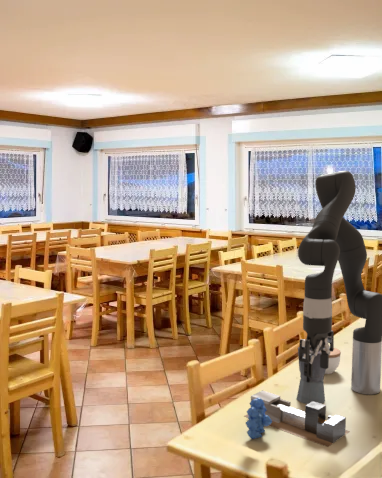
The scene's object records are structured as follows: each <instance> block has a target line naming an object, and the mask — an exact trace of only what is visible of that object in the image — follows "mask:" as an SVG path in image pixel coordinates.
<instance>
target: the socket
mask: <svg viewBox="0 0 382 478" xmlns="http://www.w3.org/2000/svg"><path fill="white" fill-rule="evenodd" d="M346 422H347V417H346V416H342V415H341V414H340V415H339V414H337V413H336V414H335V415H331V414H329V415H327V420H326V421H325V422H324V423H321V422H318V423H317V437H316V438H319V439H322V440H325V441H328V442H330V443H333V444H335V443H336V442H337V441H339V440H340V439H341V438H343V437H345V436H346V435H345V430H347V429H346V428H347V426H346ZM338 439H339V440H338Z"/></svg>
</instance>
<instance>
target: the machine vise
mask: <svg viewBox="0 0 382 478" xmlns="http://www.w3.org/2000/svg"><path fill="white" fill-rule="evenodd" d="M256 398H261V399H262V400H263V402H264V406H265V408H266V412H265V415H268V416H269V417H270V419H271V420H272V423H271V424H270V425H269V426H270V427H272V428H274V429H277V430H280V431H283V432H285V433H288V434H291V435H294V436H296V437H299V438H302V439H305V440H308V441H309V442H313V443H316V444H319V445H321V446H324V447H327V448H329V447H330V446H331V445H333V444H334V443H330V442H328V441H325V440H322V439H319V438H316V437H317V434H314V433H311V432H308V431H305V430H304V429H301V428H299V427H296V426H293V425H290V424H287V423H284V422H282V421H281V407H279V406H276V405H277V404H279V403H280V404H283V405H286V406H289V407H291V404H292V403H291V401H289V400H286V399H282V398H281V395H278V394H275V393H272V392H269V391H266V390H264V389H263V390H260V391H258V392H256V393H254V394H251V395H250V402H251V401H252V400H253V399H256ZM243 417H244V418H246V419H248V417H249V415H248V414H245V415H244V416H243ZM348 433H350V430H347V429H346V430H345V435H344V436H346V435H347V434H348ZM339 440H340V439H338V440H337V441H339Z"/></svg>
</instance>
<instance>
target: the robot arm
mask: <svg viewBox="0 0 382 478" xmlns="http://www.w3.org/2000/svg"><path fill="white" fill-rule="evenodd" d="M356 188H357V187H356V181H355V178H354V176H353V174H352V173H351V171H349V170H340V171H335V172H329V173H325V174H320V175H318V176H317V177H316V179H315V190H316V195H317V198H318V201H319V203H320V206H321V209H320V210H319V212H318V213H317V215H316V216H315V218H314V221H313V225H312V227H311V229H310V231H309V232H308V233H307V234H306V235H305V236H304V237H303V239H302V240H301V242H300V244H299V246H298V251H297V256H298V259H299V261H300V262H301V263H302V264H304V265H305V266H319V267H324V269H323V271H321V272H318V273H311V274H308V275H306V276H305V278H304V298H303V308H302V309H303V311H302V329H303V331H304V332H306V338H304V339H303V338H300V339H299V345H298V347H299V358H298V362H299V361H300V362H304V376H306V377H312V374H313V363H312V362H313V359H314V357H315V356H317V353H318V352H319V351H320V353H321V355H320V367H321V368H324V369H327V368H328V366H329V355H330V352H331V351H332V352H333V350H334V348H335V346H334V344H335V341H334V339H335V337H334V330H333V327H332V326H333V301H332V297H333V296H332V294H333V292H332V291H333V290H332V289H333V287H332V286H333V278H334V274H335V270H336V267H337V263H338V264H339V267H340V271H341V274H342V275H341V276H342V280H343V284H344V289H345V295H346V301H347V305H348V310H349V312H350V313H351V314H352V315H353V316H355V317H356V318H360V319H364V320H365V324H364V326H361V327H356V328H355V329H354V330H353V331H352V353H351V354H352V355H351V358H352V359H351V380H350V381H351V383H350V385H351V386H350V388H351V390H352V391H354V392H355V393H359V394H362V395H376V394H379V393H380V392H381V379H382V378H381V377H382V293H379V292H376V291H375V292H374V291H369V290H366V289H365V287H364V285H363V284H364V283H363V280H362V272H363V270H364V268H365V266H366V263H367V258H368V251H367V248H366V245H365V241H364V237H363V235H362V234H361V232H360V231H359V230H358V229H357V228H356V227H355V226H354V225H353V224H352V223H350V221H348V220H347V219H346V218H344V216H345V214H346V212H347V211H348V209H349V207H350V205H351V204H352V201H353V200H354V198H355V195H356ZM310 350H311V351H310ZM312 351H313V352H312ZM303 353H304V356H303ZM309 355H311V356H310V359H309Z"/></svg>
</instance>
